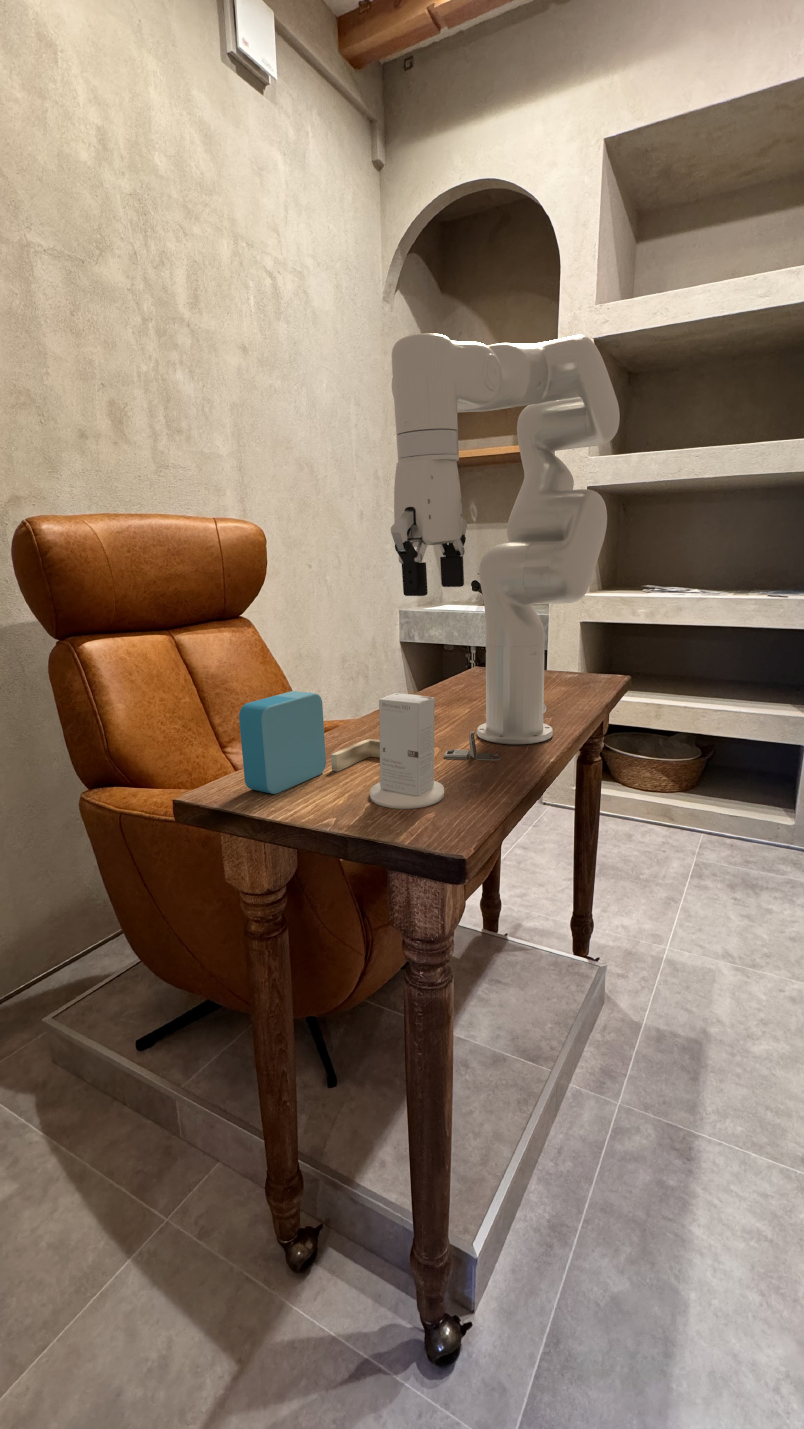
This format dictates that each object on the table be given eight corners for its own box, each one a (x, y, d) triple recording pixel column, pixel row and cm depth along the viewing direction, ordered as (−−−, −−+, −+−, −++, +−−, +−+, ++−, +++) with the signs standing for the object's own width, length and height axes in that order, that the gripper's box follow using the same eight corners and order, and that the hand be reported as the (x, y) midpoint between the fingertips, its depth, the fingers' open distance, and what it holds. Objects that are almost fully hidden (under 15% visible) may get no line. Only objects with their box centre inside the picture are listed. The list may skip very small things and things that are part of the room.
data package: (303, 767, 100) (298, 688, 97) (327, 772, 98) (322, 691, 95) (244, 792, 90) (236, 705, 87) (269, 797, 88) (262, 708, 85)
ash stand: (369, 753, 106) (368, 738, 105) (426, 762, 100) (426, 746, 100) (332, 770, 98) (330, 754, 97) (392, 781, 92) (391, 763, 92)
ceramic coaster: (395, 779, 93) (395, 773, 93) (457, 789, 88) (457, 783, 88) (355, 801, 85) (355, 795, 85) (420, 814, 80) (419, 807, 80)
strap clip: (443, 760, 102) (442, 734, 101) (446, 755, 105) (445, 728, 104) (499, 762, 100) (499, 735, 99) (501, 756, 103) (501, 729, 102)
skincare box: (379, 790, 87) (375, 698, 84) (397, 779, 90) (394, 691, 88) (420, 797, 83) (417, 702, 81) (437, 786, 87) (435, 695, 84)
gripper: (435, 456, 91) (441, 583, 96) (362, 450, 77) (373, 599, 82) (486, 450, 87) (489, 583, 92) (418, 442, 73) (426, 599, 78)
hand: (435, 590), depth 87 cm, fingers open, 9 cm apart
